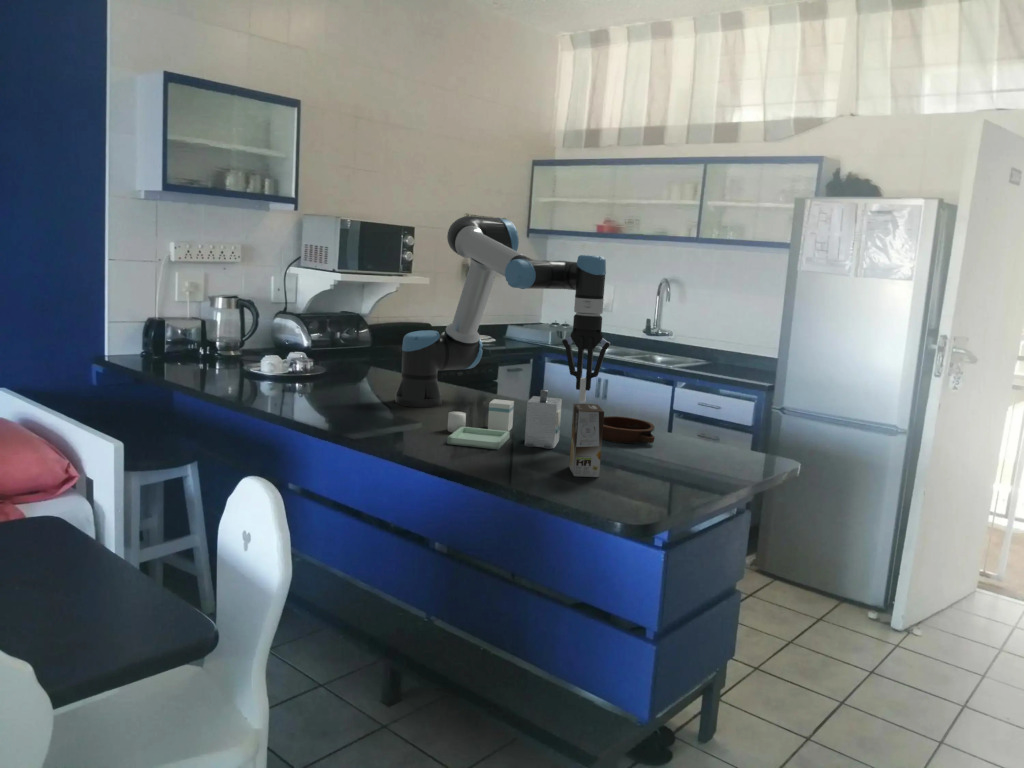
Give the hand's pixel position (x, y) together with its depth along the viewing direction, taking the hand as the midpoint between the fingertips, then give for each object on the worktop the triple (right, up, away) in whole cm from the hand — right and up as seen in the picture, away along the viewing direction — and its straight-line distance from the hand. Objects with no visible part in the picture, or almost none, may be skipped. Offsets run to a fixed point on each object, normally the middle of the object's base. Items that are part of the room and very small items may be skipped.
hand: (582, 401), depth 222 cm
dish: (+13, -11, +16) cm, 23 cm away
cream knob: (-35, -8, +13) cm, 38 cm away
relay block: (-22, -8, +19) cm, 30 cm away
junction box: (-11, -11, +4) cm, 16 cm away
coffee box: (-2, -17, -22) cm, 27 cm away
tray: (-28, -11, +3) cm, 30 cm away
